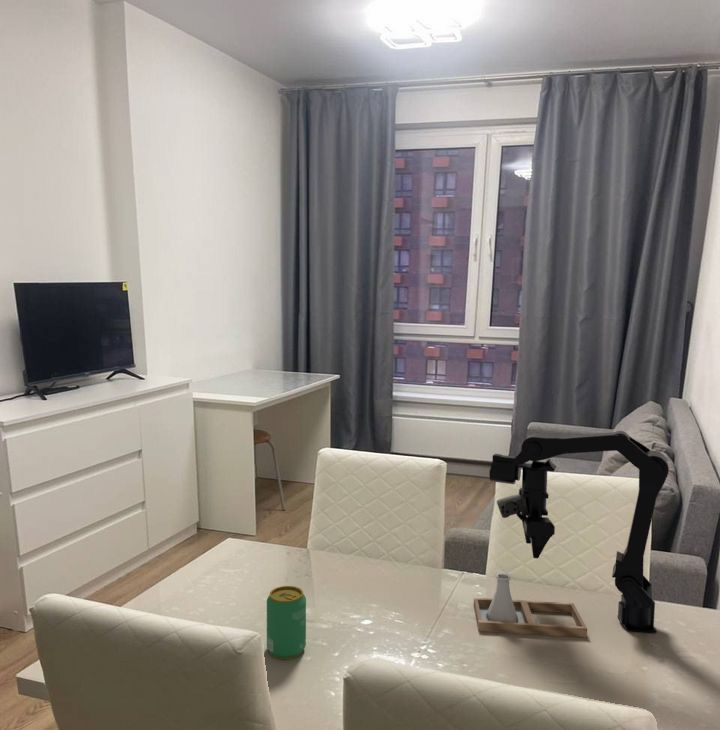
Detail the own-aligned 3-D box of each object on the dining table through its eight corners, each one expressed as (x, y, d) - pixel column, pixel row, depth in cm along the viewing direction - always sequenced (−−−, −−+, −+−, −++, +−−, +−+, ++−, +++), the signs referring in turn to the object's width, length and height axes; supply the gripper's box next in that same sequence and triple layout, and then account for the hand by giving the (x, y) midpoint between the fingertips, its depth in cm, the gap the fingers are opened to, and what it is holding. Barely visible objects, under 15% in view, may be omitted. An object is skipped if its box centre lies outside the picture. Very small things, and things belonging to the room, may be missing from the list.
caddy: (573, 611, 140) (573, 603, 140) (586, 637, 129) (587, 628, 129) (473, 605, 143) (473, 597, 143) (478, 630, 131) (478, 622, 131)
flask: (519, 628, 132) (520, 584, 131) (485, 624, 134) (486, 581, 133) (517, 612, 139) (519, 571, 138) (486, 609, 141) (487, 567, 140)
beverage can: (282, 635, 128) (283, 581, 127) (313, 646, 124) (313, 590, 123) (258, 653, 121) (258, 596, 121) (290, 665, 117) (290, 606, 116)
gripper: (494, 475, 152) (493, 534, 154) (505, 497, 134) (503, 564, 135) (539, 476, 151) (537, 537, 152) (556, 499, 133) (553, 567, 134)
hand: (531, 550), depth 144 cm, fingers open, 9 cm apart
